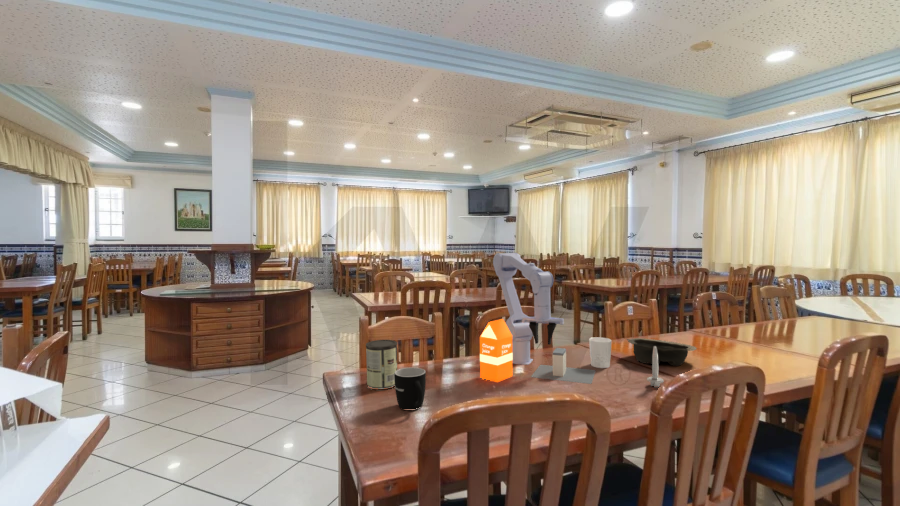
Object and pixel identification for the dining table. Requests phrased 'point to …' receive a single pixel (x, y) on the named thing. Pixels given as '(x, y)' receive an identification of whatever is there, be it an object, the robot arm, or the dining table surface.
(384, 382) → the coffee can
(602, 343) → the white cup
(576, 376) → the mat
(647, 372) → the dining table surface
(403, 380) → the mug
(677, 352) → the stone bowl
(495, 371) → the orange juice
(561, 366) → the beige rectangular block
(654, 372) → the screw
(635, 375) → the dining table surface
